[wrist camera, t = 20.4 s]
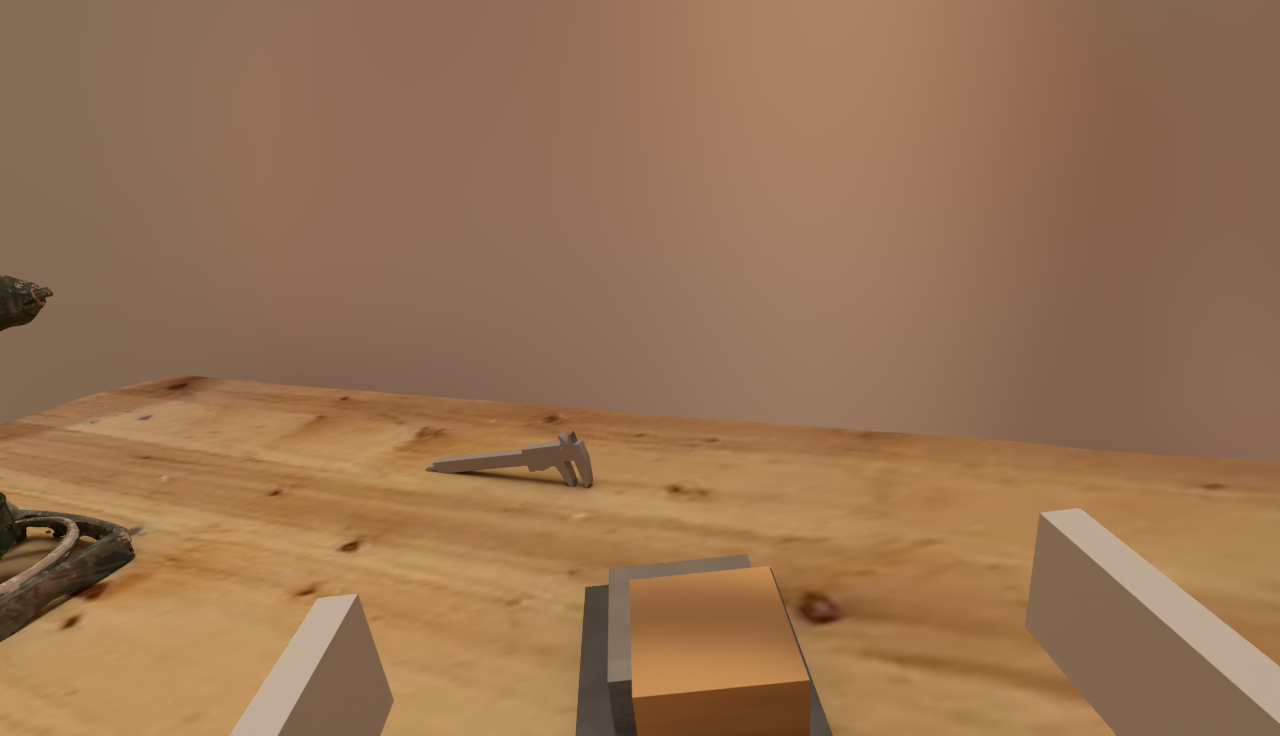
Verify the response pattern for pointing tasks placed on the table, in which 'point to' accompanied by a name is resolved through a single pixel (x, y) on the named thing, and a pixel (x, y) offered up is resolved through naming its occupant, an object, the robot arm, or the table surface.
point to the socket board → (608, 649)
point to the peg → (715, 657)
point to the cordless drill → (49, 514)
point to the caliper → (528, 459)
